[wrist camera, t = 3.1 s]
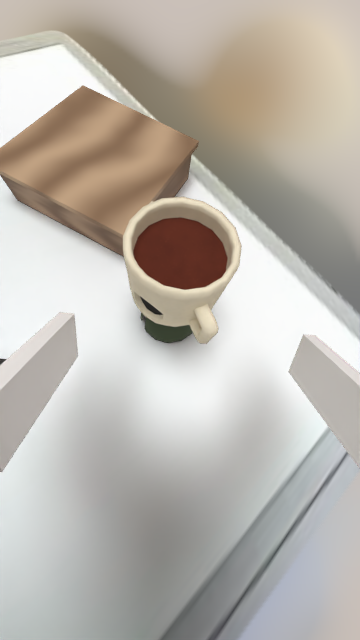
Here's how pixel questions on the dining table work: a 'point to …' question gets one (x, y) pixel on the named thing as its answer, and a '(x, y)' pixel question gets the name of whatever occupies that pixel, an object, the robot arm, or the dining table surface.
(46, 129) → the walnut stand
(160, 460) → the dining table surface
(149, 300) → the character mug
